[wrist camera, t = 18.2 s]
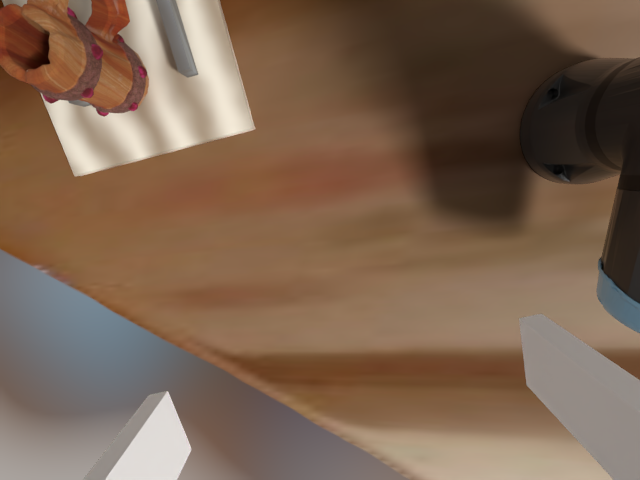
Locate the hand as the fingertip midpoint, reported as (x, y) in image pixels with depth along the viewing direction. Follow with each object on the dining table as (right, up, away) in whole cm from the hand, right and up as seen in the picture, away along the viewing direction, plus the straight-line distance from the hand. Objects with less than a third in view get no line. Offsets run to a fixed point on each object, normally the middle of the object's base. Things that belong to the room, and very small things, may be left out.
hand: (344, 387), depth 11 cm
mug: (-25, +28, +29) cm, 47 cm away
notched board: (-25, +28, +30) cm, 48 cm away
